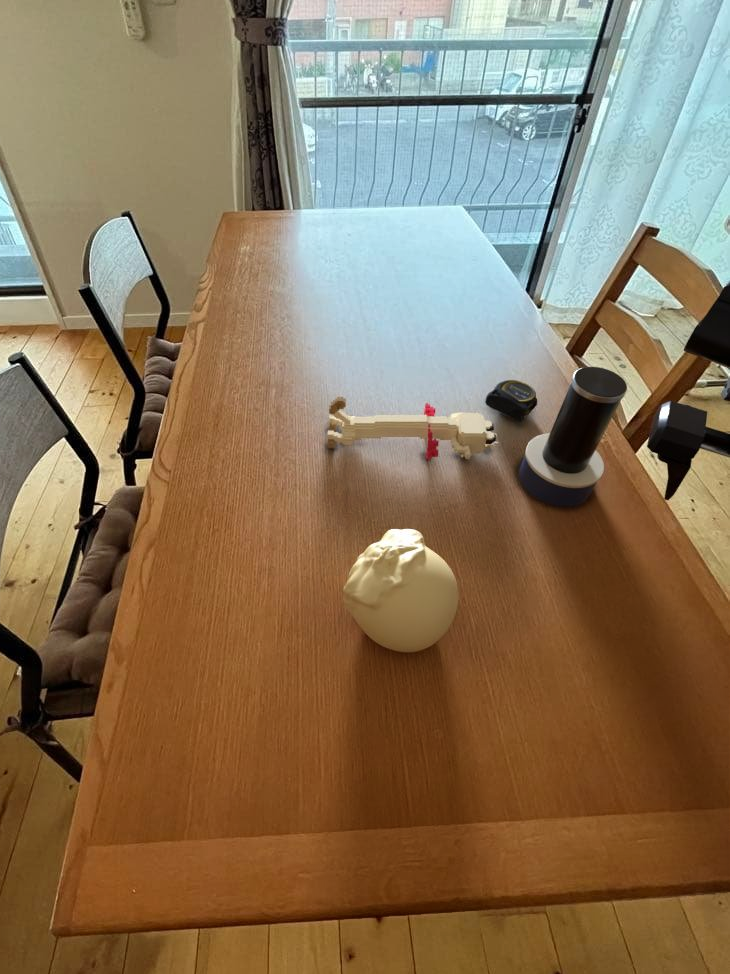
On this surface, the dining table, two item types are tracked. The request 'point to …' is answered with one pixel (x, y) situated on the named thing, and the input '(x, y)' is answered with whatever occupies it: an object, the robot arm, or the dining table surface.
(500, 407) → the tape measure
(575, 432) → the tube
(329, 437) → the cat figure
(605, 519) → the dining table surface
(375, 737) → the dining table surface
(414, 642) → the sculpture
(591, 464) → the coffee tin
